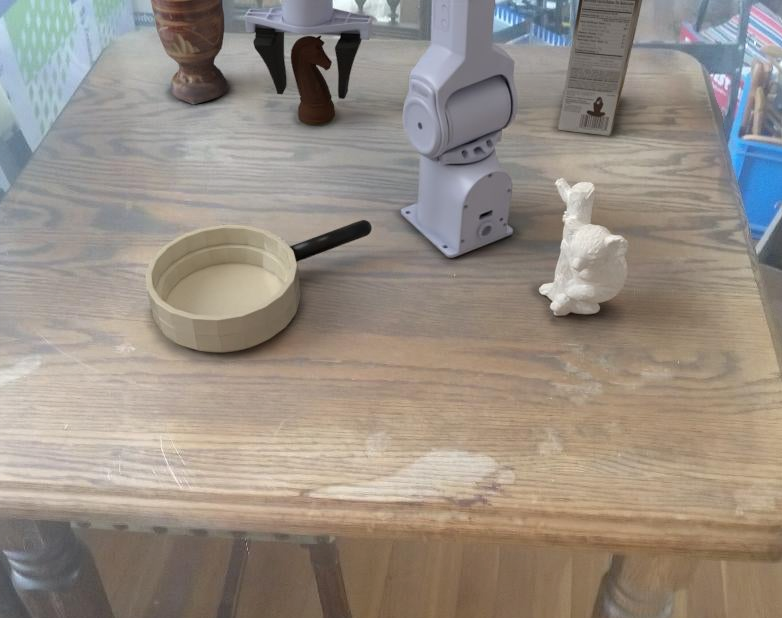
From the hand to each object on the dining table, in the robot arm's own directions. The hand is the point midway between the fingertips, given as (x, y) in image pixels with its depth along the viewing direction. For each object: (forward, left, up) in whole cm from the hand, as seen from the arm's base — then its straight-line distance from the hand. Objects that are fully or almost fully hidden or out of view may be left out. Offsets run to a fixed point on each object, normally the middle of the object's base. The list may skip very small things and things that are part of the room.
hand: (312, 92), depth 104 cm
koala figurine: (-44, -4, -3) cm, 44 cm away
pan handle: (-27, +13, -1) cm, 30 cm away
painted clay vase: (+16, +9, -3) cm, 19 cm away
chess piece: (0, 0, -3) cm, 3 cm away
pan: (-27, +24, -3) cm, 36 cm away
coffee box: (-18, -28, -3) cm, 33 cm away
